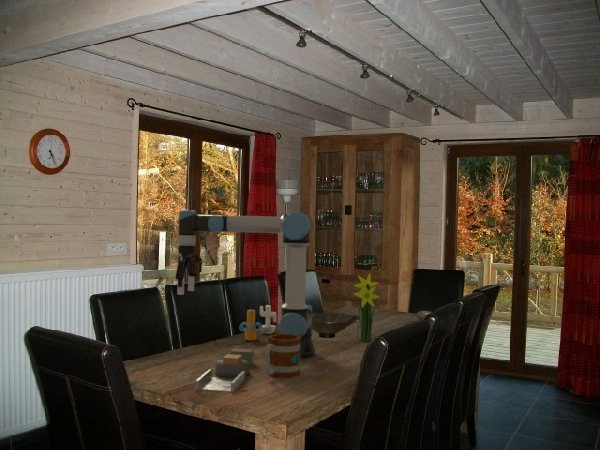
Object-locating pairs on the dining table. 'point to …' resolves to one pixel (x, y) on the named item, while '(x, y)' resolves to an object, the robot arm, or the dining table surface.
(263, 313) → the figurine
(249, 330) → the orange knobbed block
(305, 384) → the dining table surface
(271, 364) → the mug
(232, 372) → the grey block tan top
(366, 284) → the daffodil flowers
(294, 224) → the robot arm
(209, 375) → the bracket
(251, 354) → the olive green block
